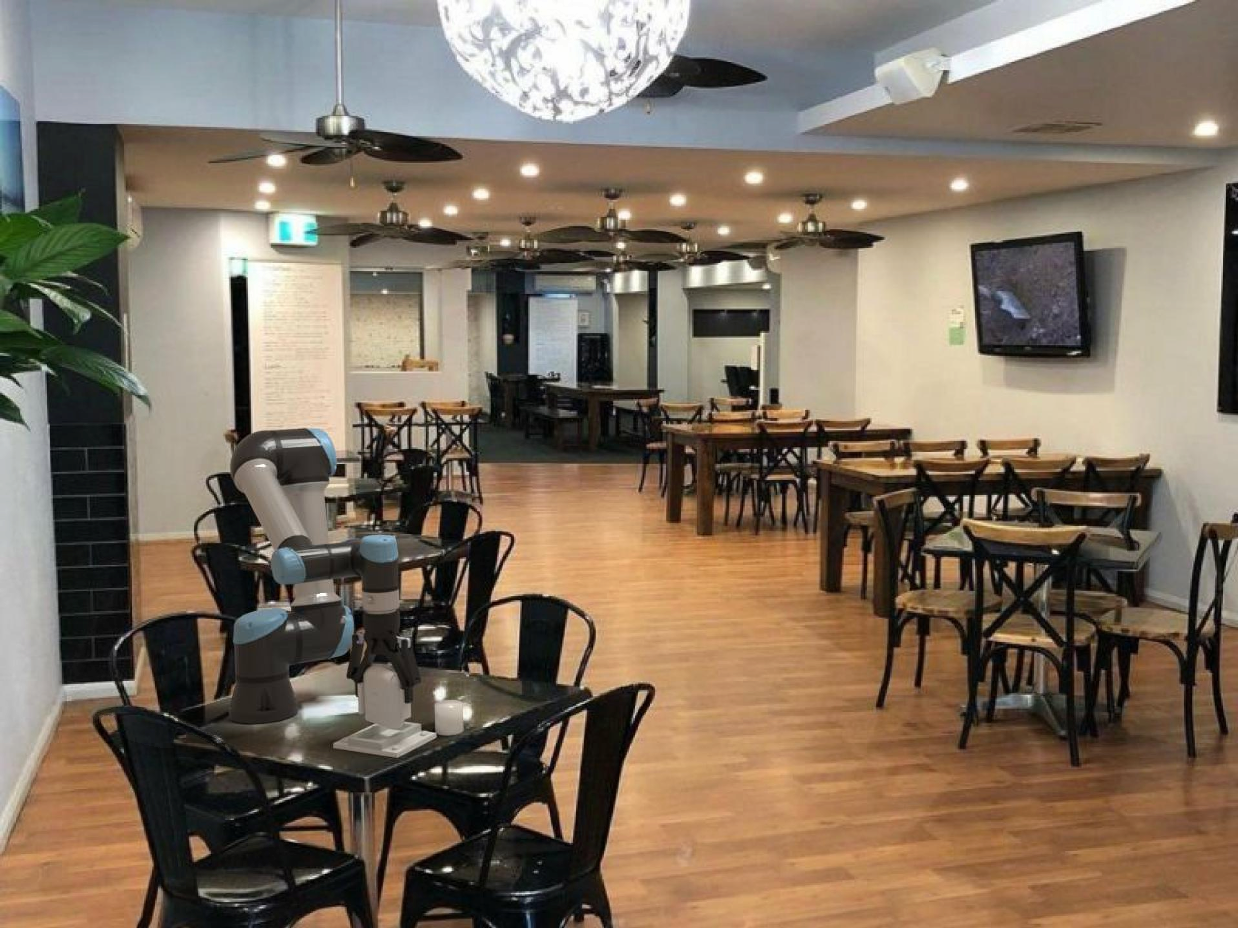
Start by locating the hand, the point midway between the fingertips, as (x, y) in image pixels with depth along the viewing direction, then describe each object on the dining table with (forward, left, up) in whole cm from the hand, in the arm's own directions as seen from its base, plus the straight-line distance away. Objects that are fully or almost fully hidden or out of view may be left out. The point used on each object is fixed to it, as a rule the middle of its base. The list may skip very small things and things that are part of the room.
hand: (384, 715), depth 249 cm
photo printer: (0, 0, -2) cm, 2 cm away
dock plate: (0, 0, -6) cm, 6 cm away
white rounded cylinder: (+8, +12, -6) cm, 16 cm away
